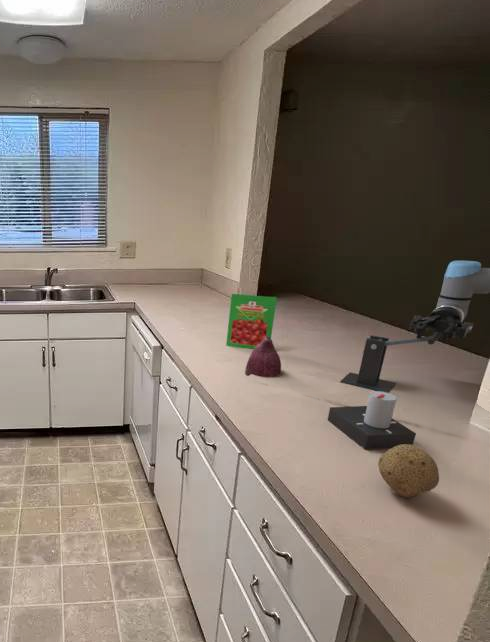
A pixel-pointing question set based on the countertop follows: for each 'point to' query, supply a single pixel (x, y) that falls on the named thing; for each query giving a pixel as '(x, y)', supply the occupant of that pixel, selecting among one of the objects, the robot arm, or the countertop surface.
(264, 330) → the tomato puree packet
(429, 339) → the switch lever
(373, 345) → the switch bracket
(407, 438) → the timer panel
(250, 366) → the vegetable
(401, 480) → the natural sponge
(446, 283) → the robot arm
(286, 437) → the countertop surface
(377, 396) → the timer knob
